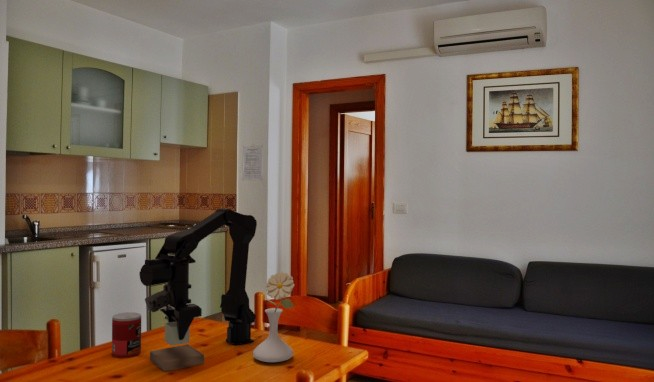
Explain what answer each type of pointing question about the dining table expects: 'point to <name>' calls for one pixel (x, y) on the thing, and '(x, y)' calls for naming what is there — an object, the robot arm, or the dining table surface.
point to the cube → (174, 334)
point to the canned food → (126, 334)
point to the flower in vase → (276, 320)
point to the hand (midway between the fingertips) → (177, 337)
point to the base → (176, 357)
